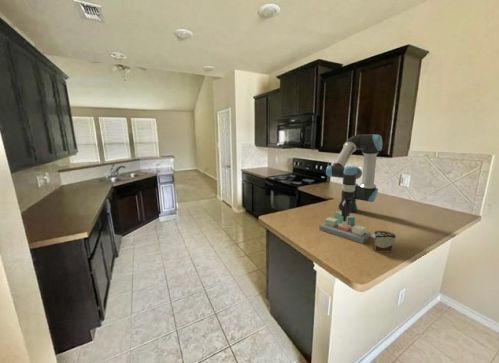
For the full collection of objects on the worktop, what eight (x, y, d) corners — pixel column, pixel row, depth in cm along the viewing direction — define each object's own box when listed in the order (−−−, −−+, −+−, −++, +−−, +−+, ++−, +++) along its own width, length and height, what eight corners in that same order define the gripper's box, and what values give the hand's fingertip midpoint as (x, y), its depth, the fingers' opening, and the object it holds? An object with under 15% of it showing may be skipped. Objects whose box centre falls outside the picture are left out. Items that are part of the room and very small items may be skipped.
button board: (328, 223, 160) (328, 220, 160) (370, 236, 141) (370, 232, 140) (319, 229, 150) (319, 225, 150) (362, 243, 131) (363, 239, 131)
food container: (386, 245, 129) (389, 230, 127) (394, 251, 123) (396, 234, 121) (366, 246, 129) (368, 230, 126) (372, 251, 123) (374, 235, 120)
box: (345, 227, 154) (346, 217, 153) (333, 220, 167) (334, 211, 166) (354, 226, 156) (355, 216, 154) (342, 219, 169) (343, 210, 167)
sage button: (328, 222, 155) (329, 217, 155) (337, 224, 151) (337, 219, 150) (325, 224, 151) (325, 219, 150) (333, 227, 147) (333, 221, 146)
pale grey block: (355, 230, 143) (356, 224, 142) (365, 233, 139) (366, 227, 138) (351, 232, 139) (352, 227, 138) (361, 235, 135) (362, 229, 134)
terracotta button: (341, 228, 150) (341, 223, 149) (350, 231, 146) (351, 225, 145) (337, 231, 145) (338, 225, 145) (346, 234, 141) (347, 228, 140)
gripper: (346, 188, 147) (342, 221, 152) (338, 191, 138) (334, 226, 143) (358, 190, 142) (354, 224, 146) (350, 193, 133) (346, 230, 137)
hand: (344, 225), depth 145 cm, fingers closed
